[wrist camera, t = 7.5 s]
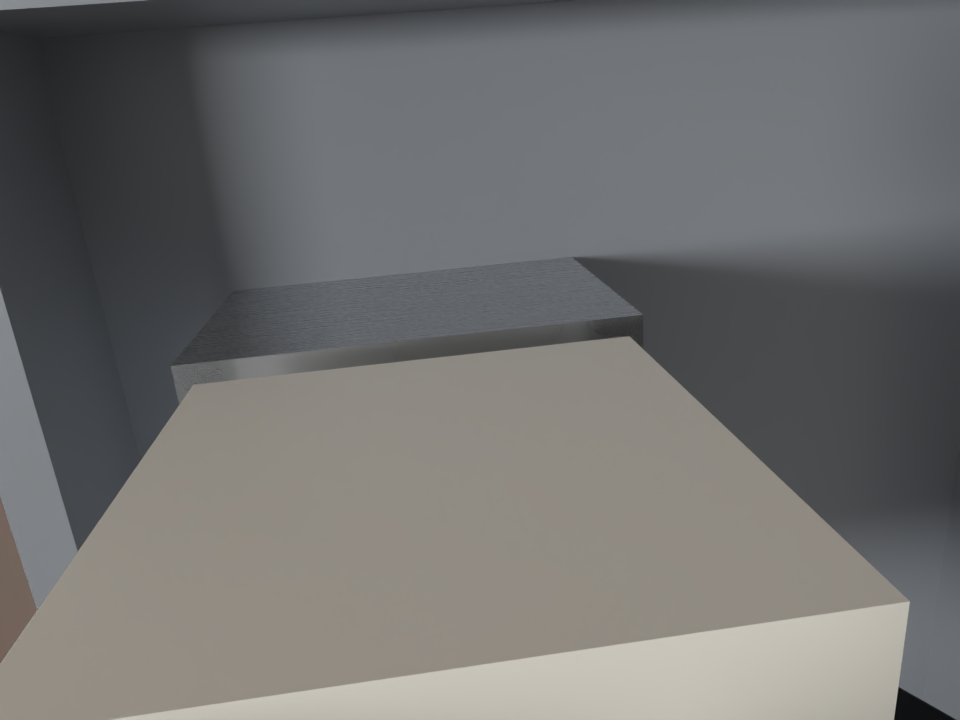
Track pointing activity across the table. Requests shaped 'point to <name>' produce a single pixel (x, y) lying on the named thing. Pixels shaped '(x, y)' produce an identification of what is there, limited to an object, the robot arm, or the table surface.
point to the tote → (503, 223)
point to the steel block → (403, 320)
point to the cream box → (459, 560)
